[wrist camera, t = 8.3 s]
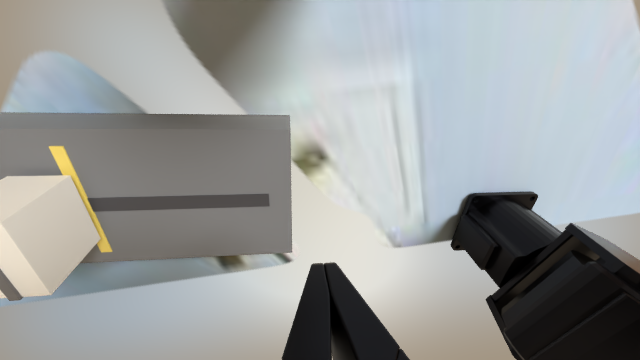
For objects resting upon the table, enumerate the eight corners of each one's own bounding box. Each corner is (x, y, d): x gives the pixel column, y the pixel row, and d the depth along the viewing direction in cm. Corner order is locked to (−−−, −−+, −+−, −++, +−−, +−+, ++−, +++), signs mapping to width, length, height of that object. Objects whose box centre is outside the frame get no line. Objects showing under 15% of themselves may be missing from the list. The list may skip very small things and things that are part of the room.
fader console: (289, 115, 18) (290, 130, 16) (291, 227, 23) (292, 253, 21) (-5, 112, 16) (-61, 128, 14) (65, 236, 21) (34, 266, 19)
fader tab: (69, 174, 15) (-3, 224, 11) (101, 239, 18) (49, 298, 14) (6, 175, 15) (-91, 227, 11) (47, 241, 17) (-21, 302, 13)
